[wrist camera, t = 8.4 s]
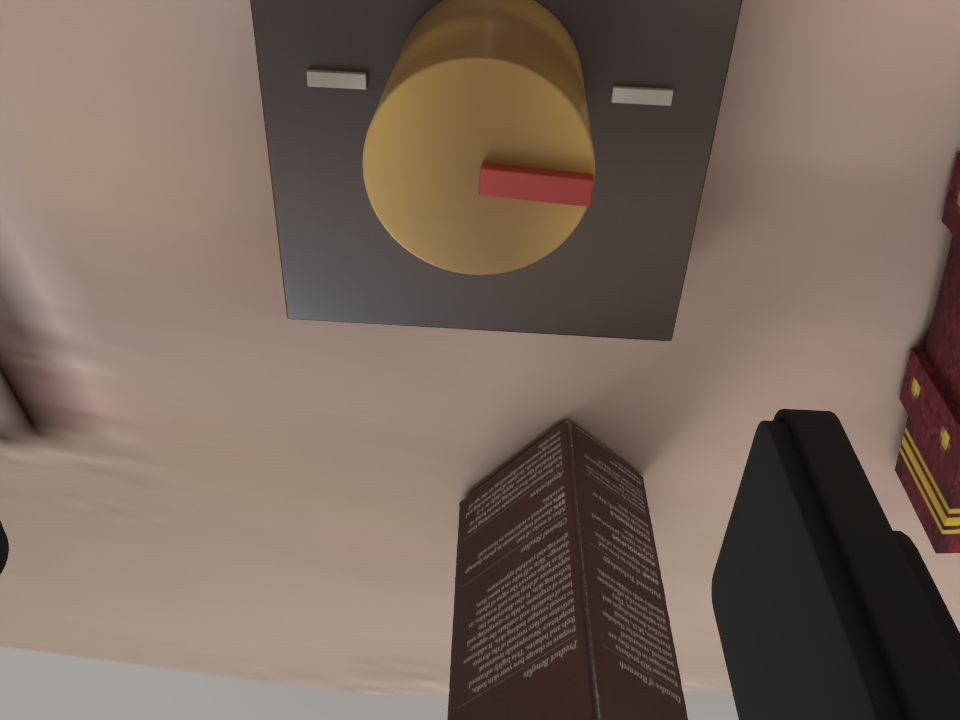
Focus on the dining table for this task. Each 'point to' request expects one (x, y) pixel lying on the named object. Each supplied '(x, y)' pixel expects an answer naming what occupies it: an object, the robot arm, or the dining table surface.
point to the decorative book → (937, 404)
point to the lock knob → (482, 138)
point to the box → (561, 593)
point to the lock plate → (600, 233)
